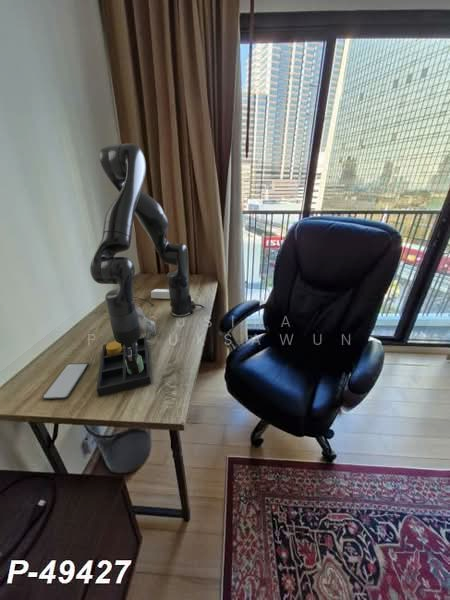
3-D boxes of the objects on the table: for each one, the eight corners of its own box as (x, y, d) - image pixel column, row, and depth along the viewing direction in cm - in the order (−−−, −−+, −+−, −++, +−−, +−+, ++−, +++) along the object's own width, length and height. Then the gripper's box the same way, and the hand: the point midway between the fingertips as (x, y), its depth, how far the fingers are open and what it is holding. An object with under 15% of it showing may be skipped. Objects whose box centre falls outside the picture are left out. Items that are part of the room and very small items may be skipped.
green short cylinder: (143, 362, 84) (141, 352, 82) (144, 372, 79) (142, 362, 77) (127, 365, 82) (125, 356, 80) (127, 376, 78) (124, 366, 76)
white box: (178, 296, 138) (178, 282, 137) (175, 298, 131) (174, 284, 130) (155, 295, 139) (155, 281, 138) (151, 298, 132) (150, 283, 131)
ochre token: (122, 348, 95) (120, 339, 93) (122, 356, 91) (120, 347, 89) (108, 351, 94) (106, 342, 92) (107, 359, 90) (105, 350, 88)
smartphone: (88, 363, 88) (65, 397, 75) (88, 364, 88) (66, 398, 75) (68, 363, 88) (41, 398, 75) (68, 364, 88) (42, 399, 75)
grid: (146, 342, 99) (145, 336, 98) (151, 383, 80) (149, 376, 79) (104, 351, 95) (103, 344, 94) (98, 396, 76) (96, 389, 74)
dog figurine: (140, 324, 111) (136, 303, 106) (158, 334, 104) (155, 312, 99) (129, 330, 107) (125, 308, 103) (148, 340, 100) (144, 318, 96)
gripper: (139, 334, 68) (149, 381, 76) (138, 310, 80) (146, 352, 88) (109, 340, 66) (122, 387, 73) (112, 314, 78) (123, 356, 86)
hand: (135, 368), depth 81 cm, fingers closed on green short cylinder, 5 cm apart
